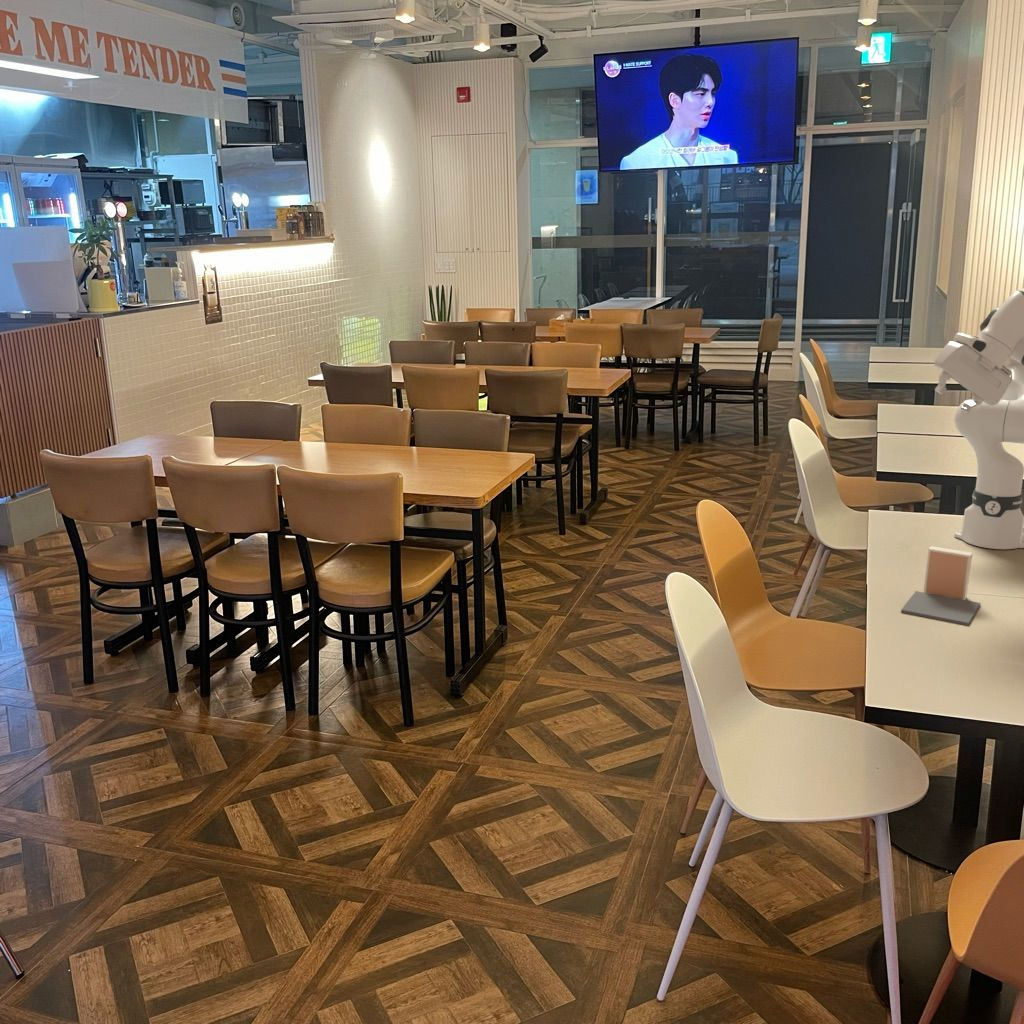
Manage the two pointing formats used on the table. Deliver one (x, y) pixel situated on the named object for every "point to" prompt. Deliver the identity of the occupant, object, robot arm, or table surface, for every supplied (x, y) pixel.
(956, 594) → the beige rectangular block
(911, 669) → the table surface
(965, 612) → the charcoal mat
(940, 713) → the table surface
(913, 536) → the table surface
